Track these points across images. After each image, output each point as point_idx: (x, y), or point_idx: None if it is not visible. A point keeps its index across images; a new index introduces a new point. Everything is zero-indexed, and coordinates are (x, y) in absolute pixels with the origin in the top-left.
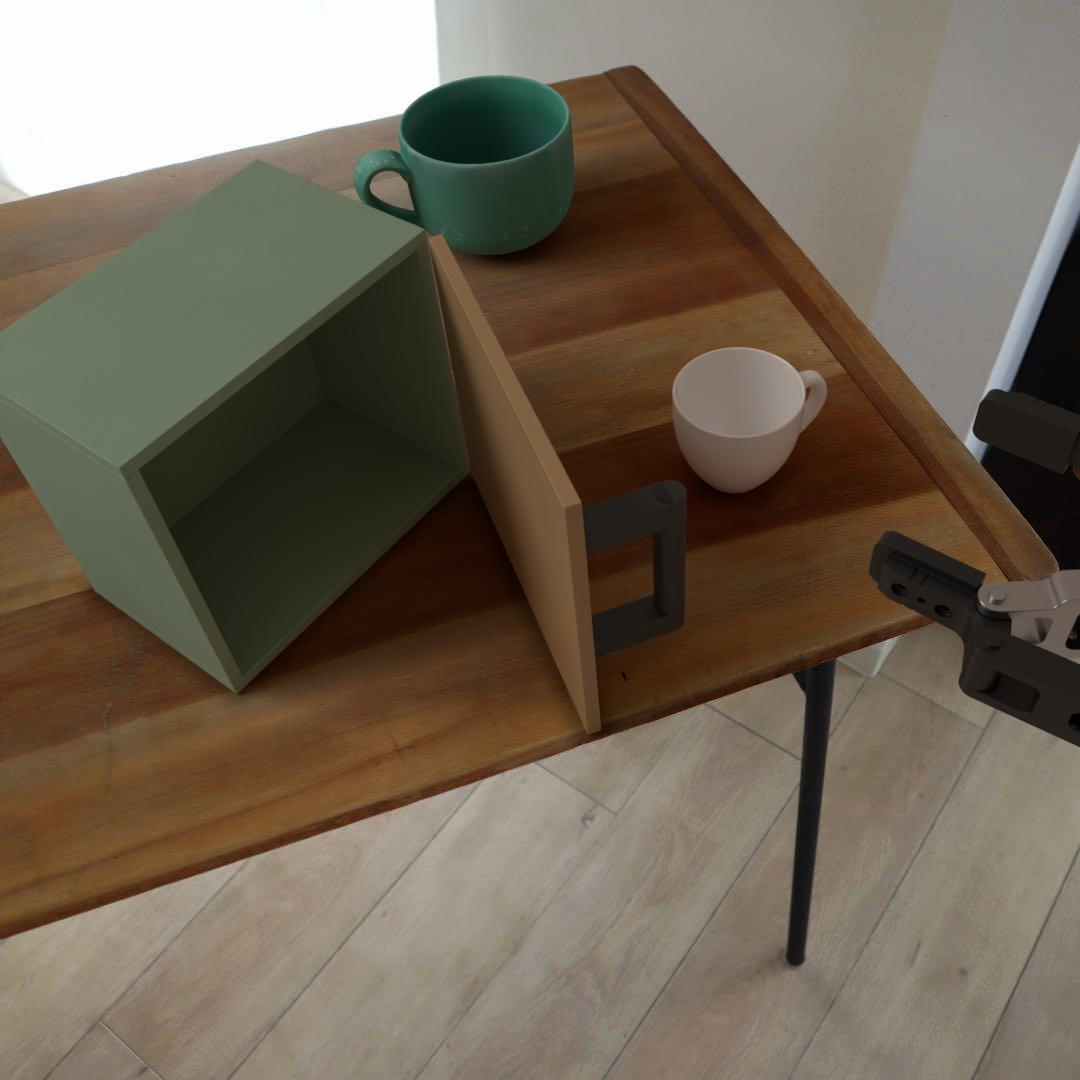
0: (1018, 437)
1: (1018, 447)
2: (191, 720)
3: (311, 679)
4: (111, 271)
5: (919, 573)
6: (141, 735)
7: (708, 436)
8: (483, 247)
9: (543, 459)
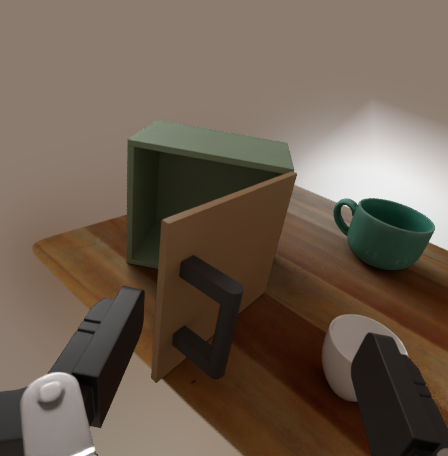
0: (371, 397)
1: (366, 409)
2: (111, 256)
3: (141, 278)
4: (213, 131)
5: (96, 325)
6: (101, 248)
7: (329, 340)
8: (357, 251)
9: (190, 210)
